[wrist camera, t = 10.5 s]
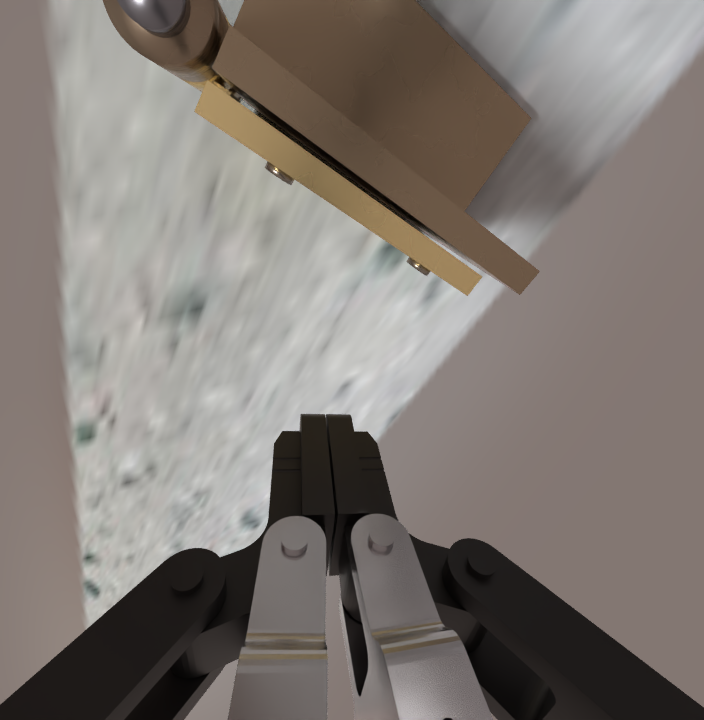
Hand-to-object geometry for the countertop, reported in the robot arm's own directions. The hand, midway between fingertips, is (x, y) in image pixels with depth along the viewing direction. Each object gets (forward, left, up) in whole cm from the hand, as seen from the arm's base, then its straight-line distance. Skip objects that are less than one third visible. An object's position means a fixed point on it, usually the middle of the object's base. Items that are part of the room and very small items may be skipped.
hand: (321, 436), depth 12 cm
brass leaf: (-1, -8, -12) cm, 14 cm away
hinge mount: (-4, -9, -13) cm, 16 cm away
